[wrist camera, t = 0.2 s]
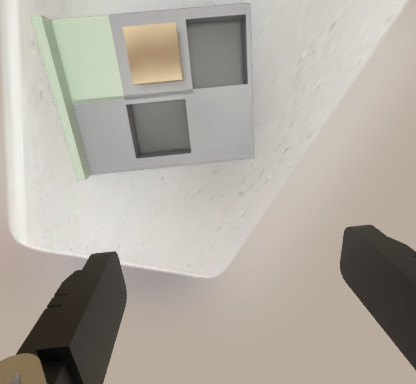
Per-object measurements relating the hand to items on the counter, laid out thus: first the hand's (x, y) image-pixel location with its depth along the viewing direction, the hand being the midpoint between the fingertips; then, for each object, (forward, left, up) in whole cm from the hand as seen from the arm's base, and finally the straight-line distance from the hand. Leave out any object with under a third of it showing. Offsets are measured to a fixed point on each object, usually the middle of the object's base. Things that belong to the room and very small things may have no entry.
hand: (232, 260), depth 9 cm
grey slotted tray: (-5, -5, -28) cm, 29 cm away
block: (-9, -4, -25) cm, 27 cm away
